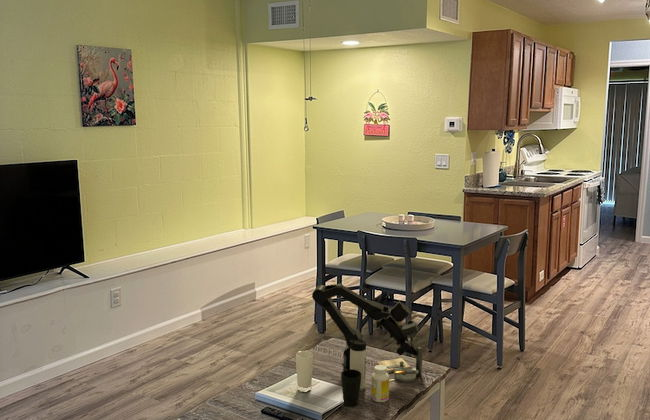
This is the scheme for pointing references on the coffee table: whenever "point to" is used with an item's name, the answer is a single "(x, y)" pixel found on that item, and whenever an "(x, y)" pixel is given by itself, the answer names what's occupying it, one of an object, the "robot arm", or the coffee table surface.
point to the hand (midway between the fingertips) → (418, 355)
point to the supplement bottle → (380, 384)
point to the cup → (351, 387)
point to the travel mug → (358, 359)
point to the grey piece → (407, 373)
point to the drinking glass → (304, 368)
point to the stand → (393, 364)
